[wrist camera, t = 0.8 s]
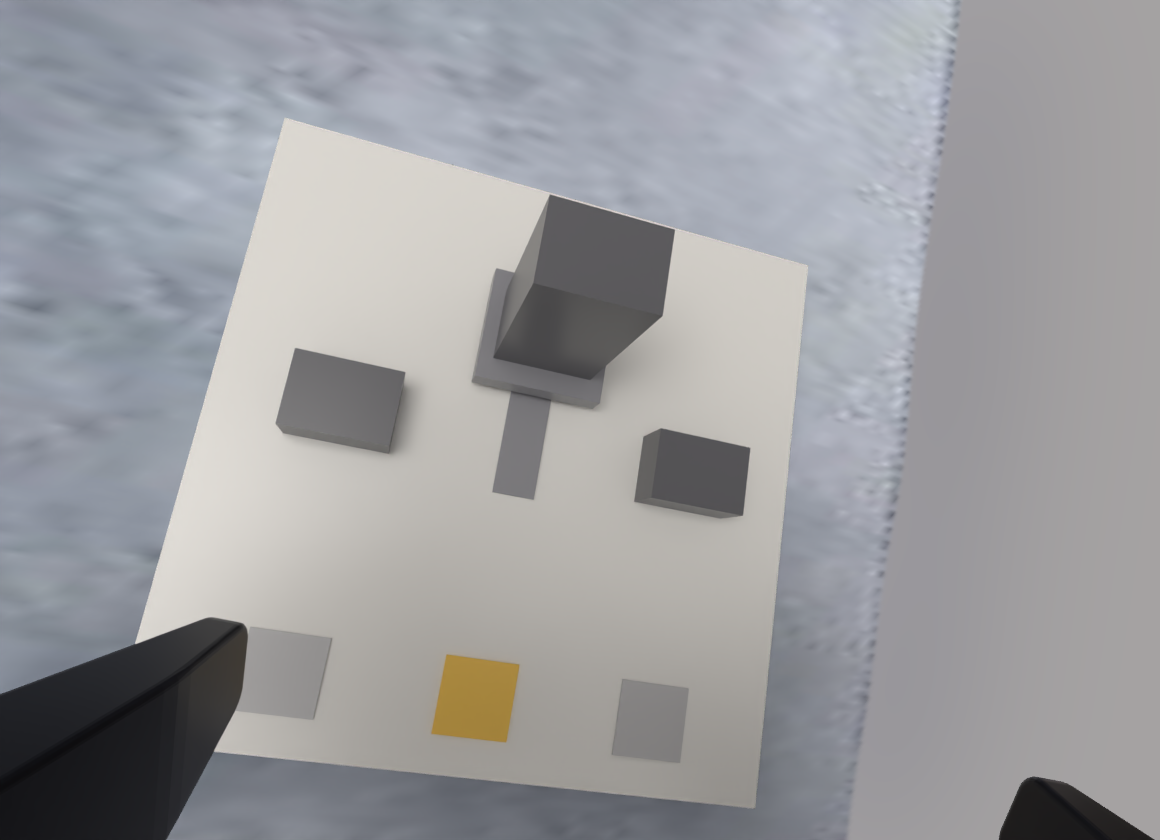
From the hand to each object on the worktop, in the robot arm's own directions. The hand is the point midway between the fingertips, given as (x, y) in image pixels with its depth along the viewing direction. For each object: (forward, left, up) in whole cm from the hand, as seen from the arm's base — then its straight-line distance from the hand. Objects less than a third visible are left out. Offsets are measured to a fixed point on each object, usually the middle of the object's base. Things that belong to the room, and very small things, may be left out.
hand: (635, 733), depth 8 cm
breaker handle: (+8, 0, -12) cm, 15 cm away
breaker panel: (+5, 0, -15) cm, 16 cm away
